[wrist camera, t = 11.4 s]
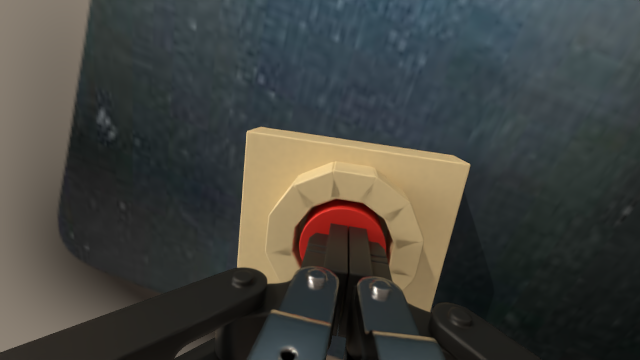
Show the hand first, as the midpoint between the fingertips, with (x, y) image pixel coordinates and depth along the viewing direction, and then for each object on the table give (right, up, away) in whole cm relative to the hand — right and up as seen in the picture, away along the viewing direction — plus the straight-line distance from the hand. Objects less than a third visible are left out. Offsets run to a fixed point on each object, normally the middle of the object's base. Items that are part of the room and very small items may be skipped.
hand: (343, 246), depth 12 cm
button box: (0, +1, +4) cm, 4 cm away
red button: (0, 0, +2) cm, 2 cm away
